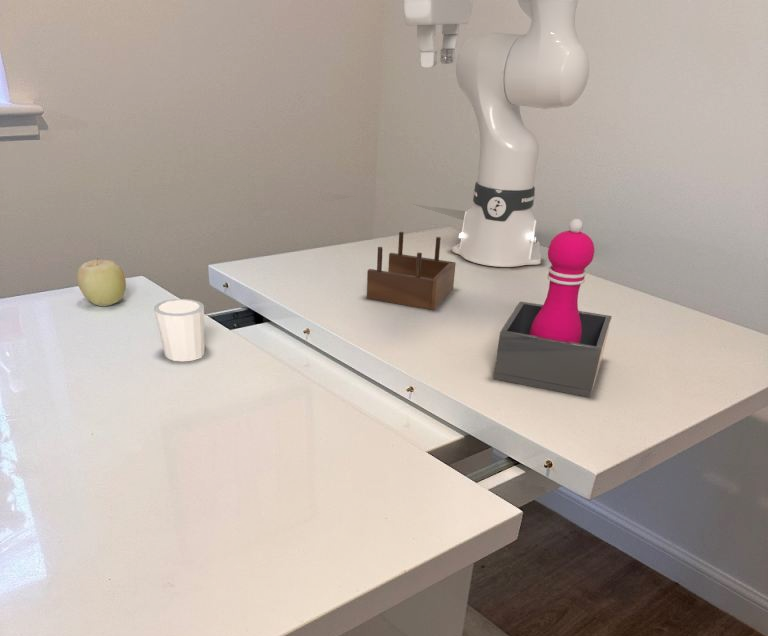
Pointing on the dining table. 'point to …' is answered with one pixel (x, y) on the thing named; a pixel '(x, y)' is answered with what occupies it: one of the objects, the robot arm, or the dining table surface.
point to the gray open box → (550, 353)
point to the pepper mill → (564, 285)
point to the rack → (411, 279)
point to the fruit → (101, 282)
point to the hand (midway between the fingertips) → (438, 65)
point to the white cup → (181, 328)
